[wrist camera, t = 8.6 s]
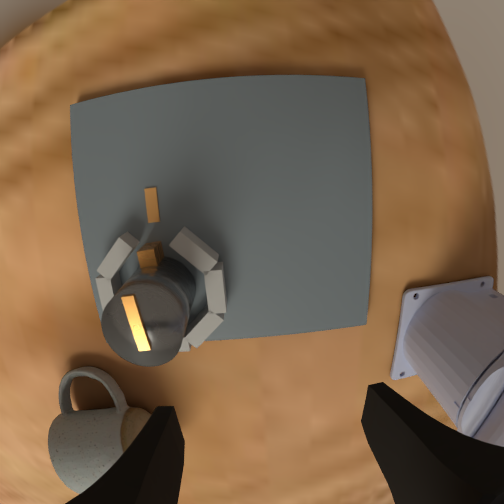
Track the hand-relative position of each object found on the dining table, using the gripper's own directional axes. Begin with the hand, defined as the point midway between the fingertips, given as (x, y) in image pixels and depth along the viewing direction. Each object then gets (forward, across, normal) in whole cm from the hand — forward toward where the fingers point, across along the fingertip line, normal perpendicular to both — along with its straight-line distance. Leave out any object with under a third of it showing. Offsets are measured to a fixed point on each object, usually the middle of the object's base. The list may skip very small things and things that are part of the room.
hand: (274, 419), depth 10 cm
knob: (+10, +6, -2) cm, 11 cm away
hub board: (+10, +2, -6) cm, 12 cm away
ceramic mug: (+11, +13, +10) cm, 20 cm away
